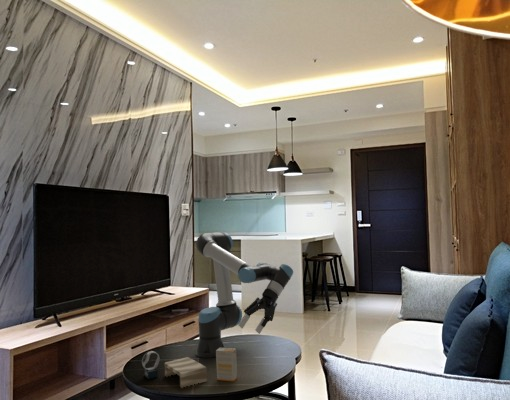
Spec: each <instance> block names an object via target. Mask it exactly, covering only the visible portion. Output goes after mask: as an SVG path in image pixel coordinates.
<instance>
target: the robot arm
mask: <svg viewBox="0 0 510 400" xmlns="http://www.w3.org/2000/svg"><path fill="white" fill-rule="evenodd" d="M195 245H196V250H197V251H198V252H199V253H200V254H201V255H202V256H204V257H205V258H210V259H211V260H212V261H213V268H214V270H213V271H214V277H215V284H216V286H215V287H216V294H217V303H216V305H215V306H210V307H206V308H203V309H201V310H200V311H199V313H198V319H197V320H198V343H197V345H196V350H195V352H196V353H195V355H196V357H199V358H203V359H211V358H216V350H217V349H219V348H220V347H221V348H225V345H224V343H223V340H222V333H221V331H224V330H227V329H230V328H231V329H232V328H234V327H236V326H238V327H240V328H241V330H242V329H244V328H245V326H246V324H247V323H248V321H249V320H250V317H251V315H253V314H255V313H256V312H258V311H259V310H264V316H263V318H261V321H259V324H258V325H257V326H256V328H255V332H256V333H257V334H259V335H260V334H261V332H262V331H263V329H264V328H265V327H266V325H268V322H272V321H273V320H274V315H275V312H276V309H277V306H278V303H277V300H278V298H279V297H280V296H281V294H282V292H283V290H284V289H285V287H286V286H287V285H288V283H289V282H290V280H291V278H292V277H293V274H294V269H293V268H292V267H291V266H289V264H286V263H284V264H283V263H282V264H280V266H279V267H278V266H274V265H271V264H268V263H267V262H259V263H258V264H256V265H251V264H249V263H247V262H245V261H244V260H242V259H240V258H239V257H237V256H236V255H234V254H232V253H231V250H232V249H233V246H234V242H233V238H232V237H231V235H230V234H228V232H224V231H217V232H205V233H204V232H203V233H201V234H200V235H199V236H198V238H197V239H196V243H195ZM230 271H231V272H232V273H234V274H235V275H237V276H238V279H239V281H240V282H241V283H242V284H252V283H254V282H255V283H256V282H259V281H265V280H268V281H269V283H268V284H267V286H266V287H265V289H264V290H263V292H262V293H261V298H260V297H256V298H255V300H253V302H252V303H250V304H249V306H247V307H246V308H245V309H243V311H242V309H241V308H240V306H239V305H238V304H237V301H236V300H234V294H233V288H232V280H231V272H230ZM242 312H244V315H243V313H242Z"/></svg>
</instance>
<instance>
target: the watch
mask: <svg viewBox="0 0 510 400" xmlns="http://www.w3.org/2000/svg"><path fill="white" fill-rule="evenodd" d="M152 354H156V356H157V358H156V361H155V363H154V364H153V366H151V367H146V365H147V363H148V362H149V360H150V357H151V355H152ZM160 360H161V358H160V354H159V353H157V352H156V351H153V350H150V351H147V352H145V353H144V354H143V356H142V358H141V364H142V365H141V366H142V367H143V369H144V377H145V378H147V379H148V380H150V378H152V379H155V378H154V377H156V378H158V377H159V376H158V375H159V374H158V371H159V370H158V369H157V368H158V366H159V363H160Z"/></svg>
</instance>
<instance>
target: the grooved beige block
mask: <svg viewBox="0 0 510 400" xmlns="http://www.w3.org/2000/svg"><path fill="white" fill-rule="evenodd" d="M207 373H208V372H207V366H205V365H204V364H202V363H200V362H198V361H197V360H194V359H192V358H190V357H189V356H186V357H183V358H178V359H174V360H169V361H166V362H164V377H165V376H166V378H168V376H169V377H172V376H171V375H173V376H176V374H177V376H179V387H180V388H181V389H184V388H183V387H185V388H187V387H186V386H188V387H191V386H190V385H192V386H195V385H199V384H201V383H206V382H207V381H208V378H207V377H208V376H207ZM198 383H199V384H198ZM194 384H195V385H194Z"/></svg>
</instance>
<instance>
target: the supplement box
mask: <svg viewBox="0 0 510 400" xmlns="http://www.w3.org/2000/svg"><path fill="white" fill-rule="evenodd" d="M215 358H216V359H215V361H216V362H215V364H216V380H217V381H224V382H225V381H226V382H235V381H236V380H237V379H238V365H237V364H238V363H237V362H238V361H237V359H238V358H237V348H234V347H233V348H232V347H224V348H221V347H220V348H219V349H217V350H216V357H215Z"/></svg>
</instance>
